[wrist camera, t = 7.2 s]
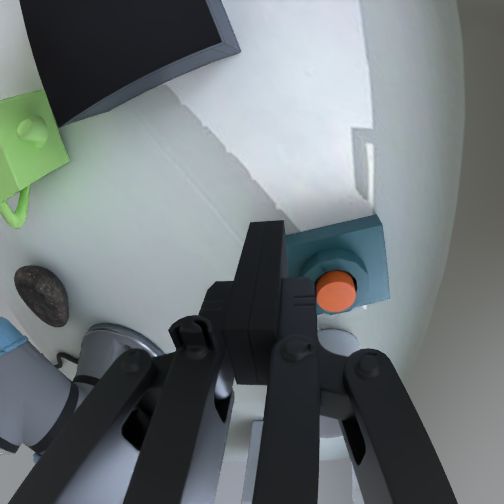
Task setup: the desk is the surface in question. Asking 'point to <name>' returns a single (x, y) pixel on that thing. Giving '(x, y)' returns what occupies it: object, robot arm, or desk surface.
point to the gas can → (252, 462)
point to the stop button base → (343, 257)
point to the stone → (43, 294)
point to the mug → (339, 345)
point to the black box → (120, 48)
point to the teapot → (26, 149)
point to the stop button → (335, 291)
